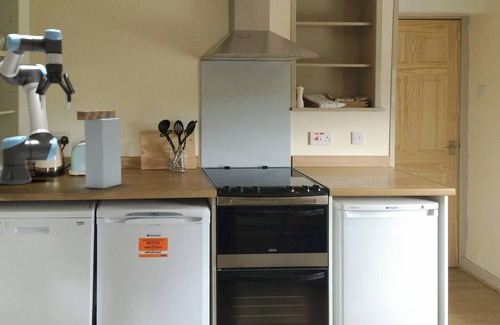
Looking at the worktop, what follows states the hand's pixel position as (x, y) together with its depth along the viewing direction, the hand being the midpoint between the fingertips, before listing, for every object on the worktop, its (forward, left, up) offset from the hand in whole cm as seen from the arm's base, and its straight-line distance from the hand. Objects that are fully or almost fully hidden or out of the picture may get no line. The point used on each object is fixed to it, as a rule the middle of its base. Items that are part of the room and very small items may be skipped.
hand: (55, 109), depth 274 cm
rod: (+9, +16, -5) cm, 19 cm away
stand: (+7, +21, -38) cm, 44 cm away
